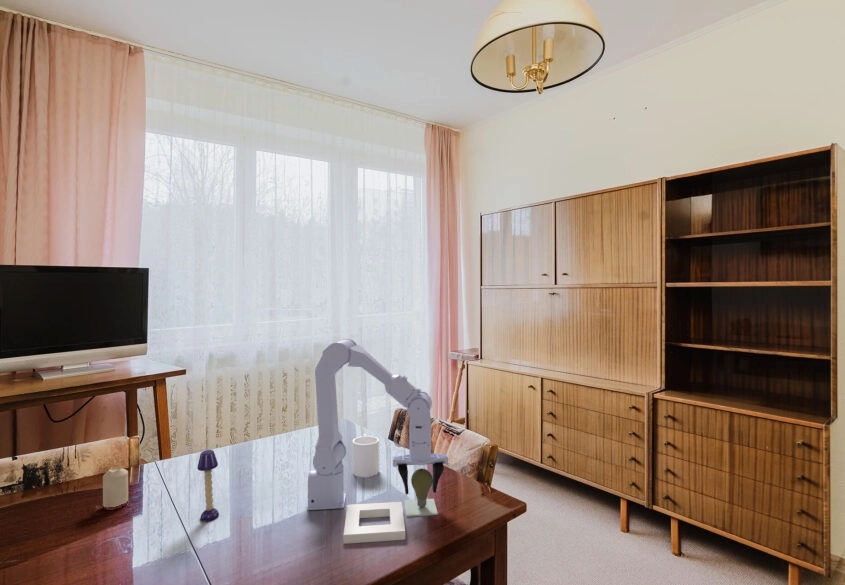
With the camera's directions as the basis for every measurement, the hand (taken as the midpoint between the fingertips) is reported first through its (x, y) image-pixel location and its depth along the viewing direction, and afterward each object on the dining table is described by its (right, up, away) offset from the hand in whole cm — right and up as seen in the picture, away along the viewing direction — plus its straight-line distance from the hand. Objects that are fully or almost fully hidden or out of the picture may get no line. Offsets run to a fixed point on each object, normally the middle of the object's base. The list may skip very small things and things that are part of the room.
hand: (420, 491), depth 114 cm
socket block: (-11, -4, -8) cm, 15 cm away
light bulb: (0, -4, 0) cm, 4 cm away
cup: (-18, -5, +25) cm, 31 cm away
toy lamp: (-54, -5, -4) cm, 54 cm away
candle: (-82, -5, +2) cm, 82 cm away
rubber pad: (0, -4, 0) cm, 4 cm away
